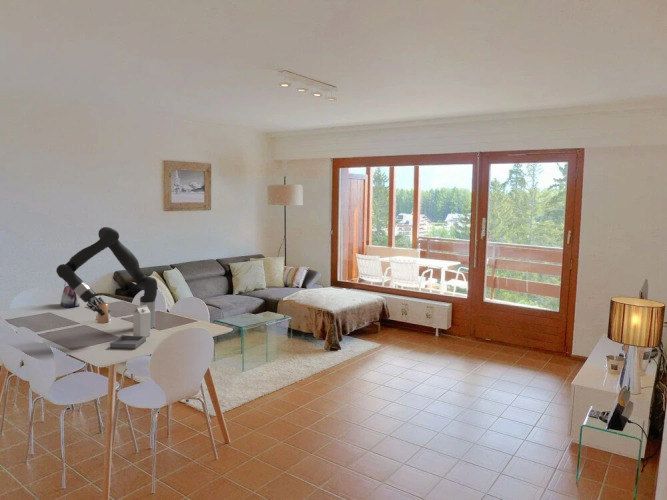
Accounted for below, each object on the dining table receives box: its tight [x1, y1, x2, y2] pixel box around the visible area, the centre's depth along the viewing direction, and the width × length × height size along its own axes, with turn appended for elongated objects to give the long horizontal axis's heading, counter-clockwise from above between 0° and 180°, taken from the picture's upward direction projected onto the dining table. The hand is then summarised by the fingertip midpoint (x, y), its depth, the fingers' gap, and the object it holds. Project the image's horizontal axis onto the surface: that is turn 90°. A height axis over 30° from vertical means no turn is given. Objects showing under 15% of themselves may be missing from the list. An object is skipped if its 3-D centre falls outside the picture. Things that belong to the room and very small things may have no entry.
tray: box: [109, 334, 147, 350], centre depth 281 cm, size 16×14×3 cm
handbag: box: [60, 285, 80, 309], centre depth 367 cm, size 21×10×25 cm, turn 49°
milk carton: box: [132, 305, 151, 338], centre depth 298 cm, size 7×7×19 cm
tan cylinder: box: [97, 302, 109, 325], centre depth 280 cm, size 6×6×11 cm
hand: (106, 313), depth 280 cm, fingers closed on tan cylinder, 5 cm apart
